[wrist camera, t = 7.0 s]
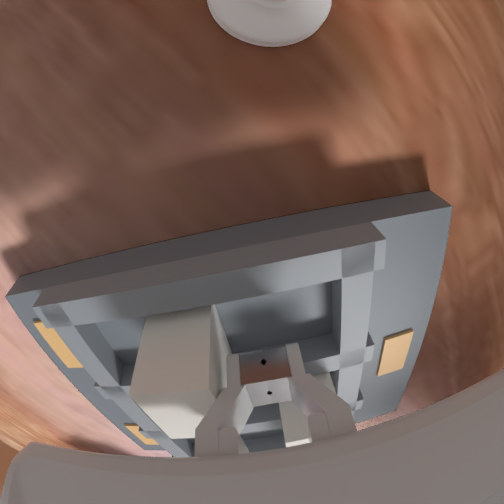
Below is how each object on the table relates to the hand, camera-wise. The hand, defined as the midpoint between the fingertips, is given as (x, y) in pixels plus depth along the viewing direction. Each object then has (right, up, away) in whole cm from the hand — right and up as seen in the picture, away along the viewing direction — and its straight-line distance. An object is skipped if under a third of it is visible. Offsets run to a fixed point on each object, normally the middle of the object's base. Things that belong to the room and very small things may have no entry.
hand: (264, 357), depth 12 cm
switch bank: (-1, -3, +7) cm, 8 cm away
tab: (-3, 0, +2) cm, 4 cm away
